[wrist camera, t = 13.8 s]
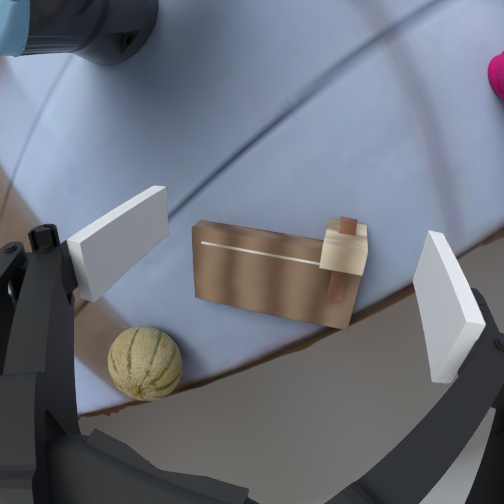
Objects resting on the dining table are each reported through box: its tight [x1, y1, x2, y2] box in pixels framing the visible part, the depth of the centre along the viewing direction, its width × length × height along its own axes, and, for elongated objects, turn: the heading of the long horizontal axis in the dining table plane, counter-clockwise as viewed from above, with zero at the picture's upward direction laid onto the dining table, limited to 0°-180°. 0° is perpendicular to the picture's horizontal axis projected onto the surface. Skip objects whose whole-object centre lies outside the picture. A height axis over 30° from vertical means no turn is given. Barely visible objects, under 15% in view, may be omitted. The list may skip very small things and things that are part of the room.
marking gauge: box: [319, 217, 368, 302], centre depth 39 cm, size 5×11×8 cm, turn 177°
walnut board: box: [192, 220, 361, 330], centre depth 47 cm, size 24×12×3 cm, turn 87°
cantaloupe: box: [108, 326, 183, 401], centre depth 57 cm, size 15×15×15 cm
